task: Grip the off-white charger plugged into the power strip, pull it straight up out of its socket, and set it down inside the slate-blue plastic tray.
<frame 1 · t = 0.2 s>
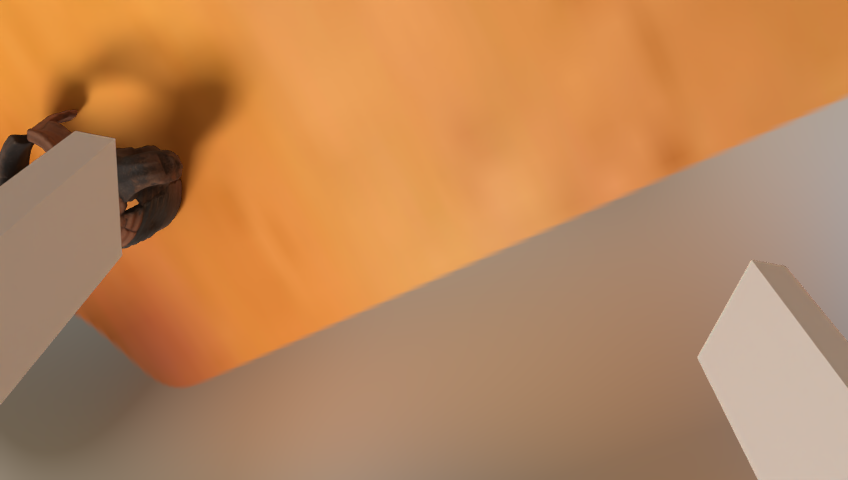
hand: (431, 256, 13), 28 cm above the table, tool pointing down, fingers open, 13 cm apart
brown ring: (126, 164, 44), on the table
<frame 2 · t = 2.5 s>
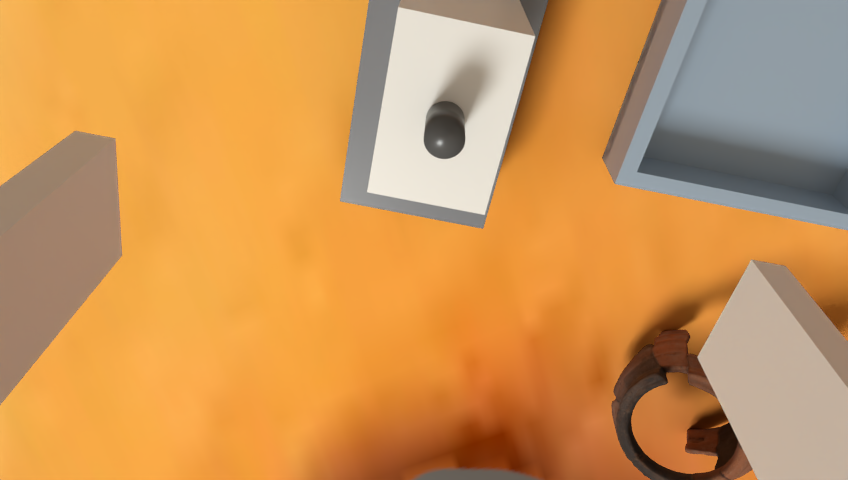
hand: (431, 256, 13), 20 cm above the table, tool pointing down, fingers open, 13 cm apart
tray: (801, 10, 29), on the table
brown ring: (699, 373, 41), on the table
charger: (447, 38, 28), point 2 cm above the table, touching power strip
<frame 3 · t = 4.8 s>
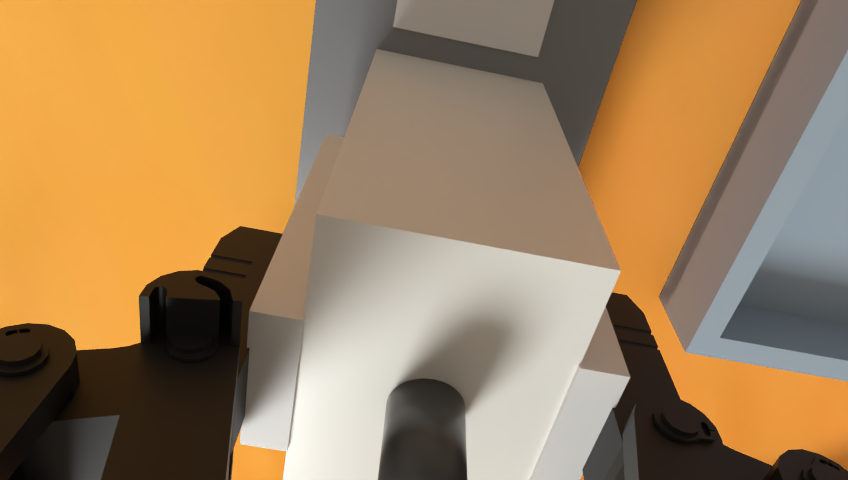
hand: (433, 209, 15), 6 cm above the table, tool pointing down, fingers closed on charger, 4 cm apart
charger: (436, 148, 18), point 2 cm above the table, touching gripper, power strip
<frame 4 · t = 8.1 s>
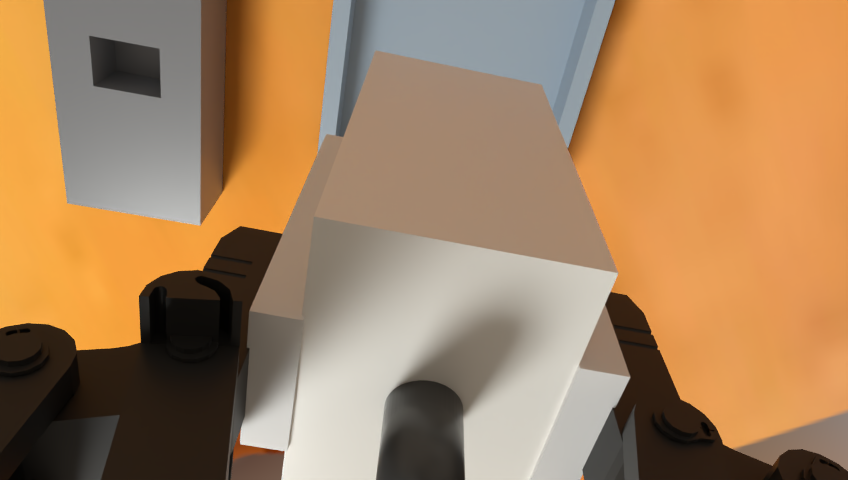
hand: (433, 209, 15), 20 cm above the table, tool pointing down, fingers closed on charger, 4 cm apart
tray: (463, 25, 33), on the table
charger: (435, 150, 18), point 17 cm above the table, touching gripper
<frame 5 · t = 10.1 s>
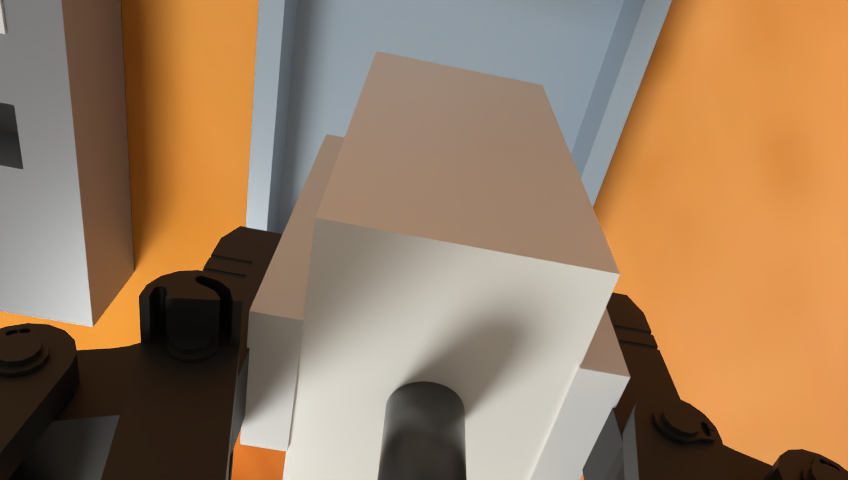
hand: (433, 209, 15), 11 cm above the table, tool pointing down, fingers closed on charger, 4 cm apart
tray: (442, 72, 24), on the table
charger: (435, 150, 18), point 7 cm above the table, touching gripper
when the fingers open (6 cm above the table, at t = 11.7 s): charger drops 1 cm, resting on tray.
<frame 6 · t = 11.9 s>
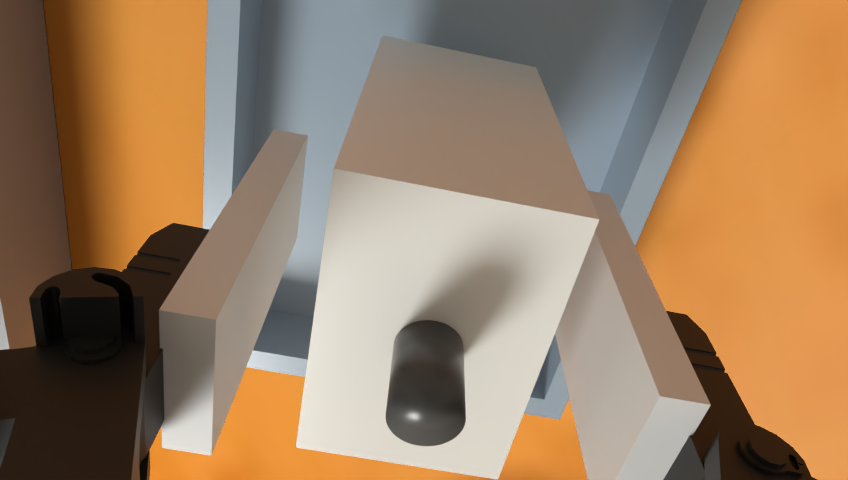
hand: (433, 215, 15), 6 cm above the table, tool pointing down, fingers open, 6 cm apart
tray: (436, 121, 20), on the table
charger: (436, 131, 19), point 1 cm above the table, touching tray
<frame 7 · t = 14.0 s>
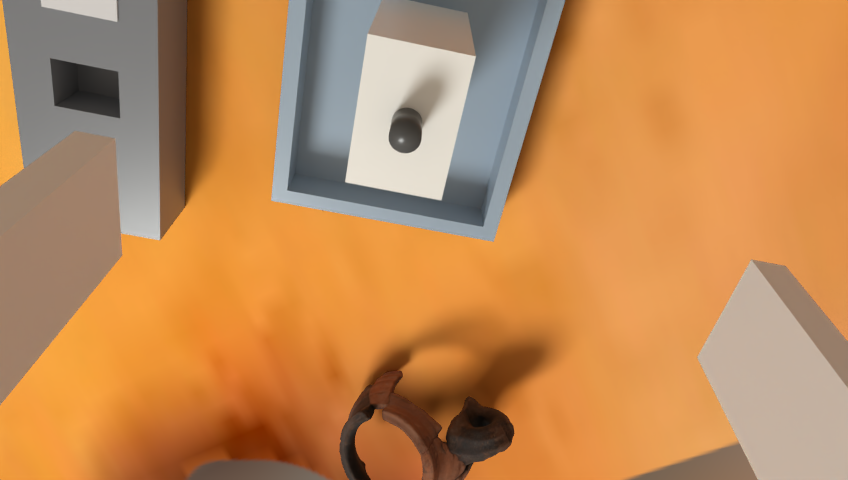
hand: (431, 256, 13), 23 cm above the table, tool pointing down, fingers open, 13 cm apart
tray: (415, 51, 34), on the table
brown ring: (431, 405, 47), on the table
charger: (415, 56, 33), point 1 cm above the table, touching tray
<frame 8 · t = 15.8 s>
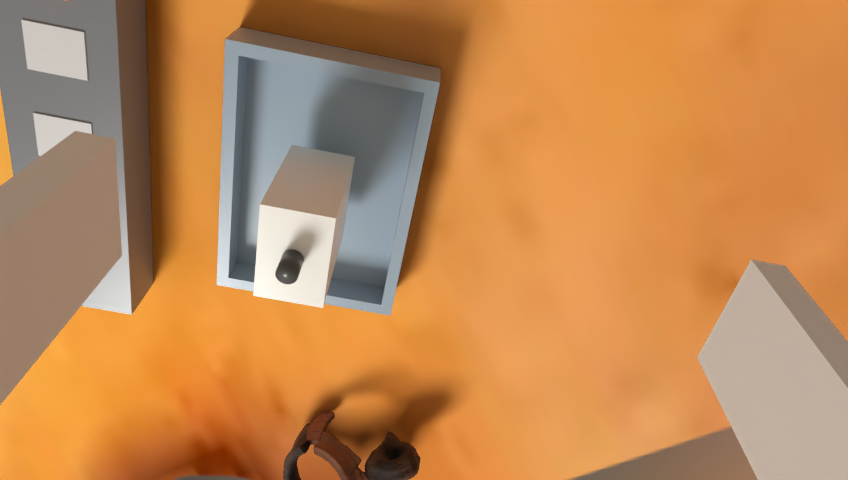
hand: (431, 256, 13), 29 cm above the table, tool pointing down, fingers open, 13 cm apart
tray: (325, 174, 44), on the table
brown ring: (361, 438, 58), on the table
charger: (323, 179, 44), point 1 cm above the table, touching tray
power strip: (96, 130, 43), on the table
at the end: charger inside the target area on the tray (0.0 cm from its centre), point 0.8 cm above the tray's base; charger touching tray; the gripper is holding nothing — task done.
